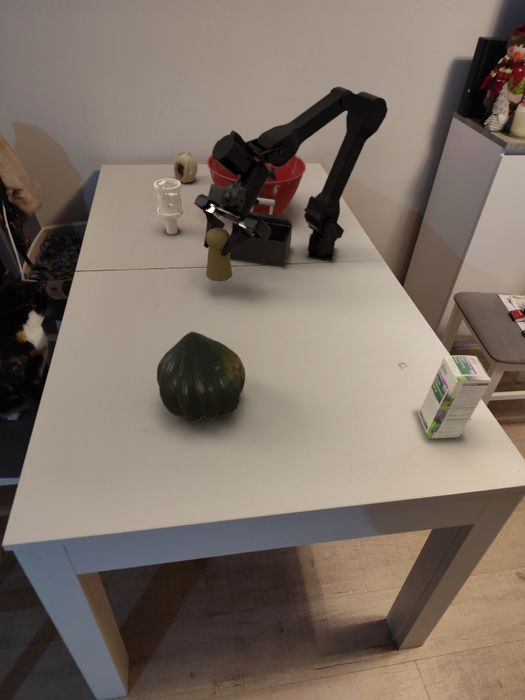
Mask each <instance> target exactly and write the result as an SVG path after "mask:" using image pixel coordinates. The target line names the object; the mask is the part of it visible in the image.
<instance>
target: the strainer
mask: <svg viewBox="0 0 525 700" xmlns="http://www.w3.org/2000/svg"><path fill="white" fill-rule="evenodd" d="M167 184H172V185H176V186H174V187H168V186H166V185H167ZM153 187H154V188H153V190H155V195H156V203H157V208H156V214H157V217H159V218H160V219H163V220H164V221H165V229H166V233H167V234H168V235H176V234H177V233H178V231H179V229H178V221H177V219H179V218H181V217H182V216H183V215H184V209H183V205H182V194H181V189H182V182H180V181H178V180H176V178H160V179H157V180H155V181H154V183H153Z"/></svg>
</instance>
